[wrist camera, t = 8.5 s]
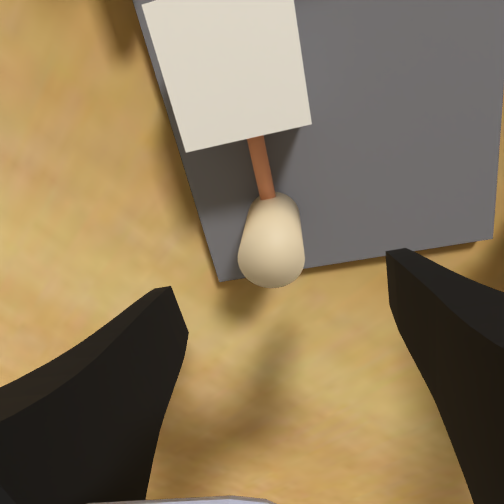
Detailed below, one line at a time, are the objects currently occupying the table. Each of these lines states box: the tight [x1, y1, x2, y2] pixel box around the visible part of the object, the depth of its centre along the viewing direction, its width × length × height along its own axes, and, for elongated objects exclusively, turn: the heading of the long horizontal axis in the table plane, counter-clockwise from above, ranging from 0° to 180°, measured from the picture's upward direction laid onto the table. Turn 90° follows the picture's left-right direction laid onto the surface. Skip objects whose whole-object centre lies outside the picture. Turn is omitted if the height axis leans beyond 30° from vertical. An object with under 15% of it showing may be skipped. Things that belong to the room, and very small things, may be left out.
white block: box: [142, 0, 312, 288], centre depth 15 cm, size 11×5×5 cm, turn 13°
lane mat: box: [133, 0, 504, 282], centre depth 17 cm, size 16×15×1 cm
